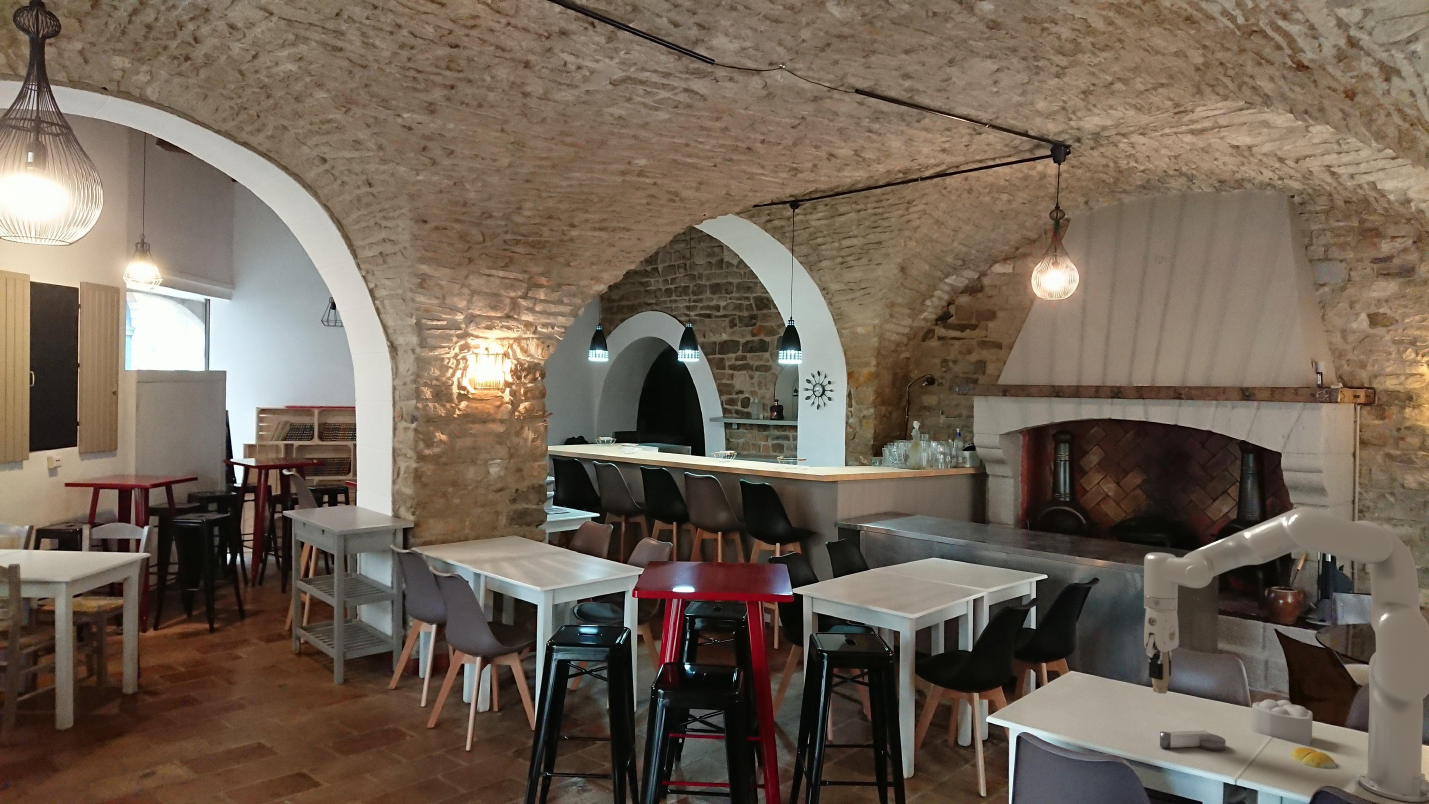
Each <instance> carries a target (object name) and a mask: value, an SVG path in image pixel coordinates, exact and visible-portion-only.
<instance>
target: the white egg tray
mask: <svg viewBox="0 0 1429 804" xmlns="http://www.w3.org/2000/svg"><path fill="white" fill-rule="evenodd" d="M1251 707H1252V708H1251V732H1252V731H1253V732H1252V733H1256V734H1259V735H1263V736H1267V737H1271V738H1274V739H1278V740H1282V741H1285V742H1290V743H1293V744H1297V745H1301V746H1306V747H1307V748H1310V746H1311V742H1313V716H1314V715H1313V711H1311V710H1309V709H1307V708H1306V707H1304V706H1302V705H1299V704H1298V705H1297V704H1292V702H1290V701H1289V700H1286V699H1282V700H1277V701H1276V700H1273V699H1268V698H1267V699H1264V700H1263V701H1256V702H1253V703H1252V705H1251Z"/></svg>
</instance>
